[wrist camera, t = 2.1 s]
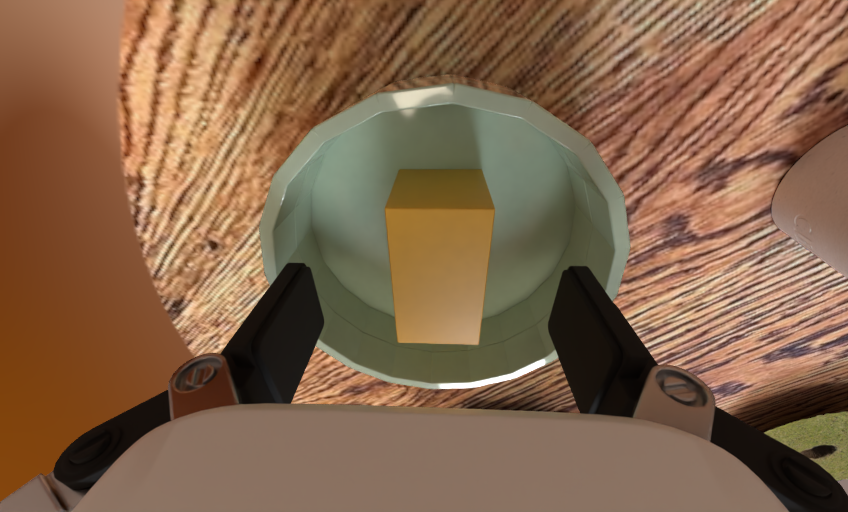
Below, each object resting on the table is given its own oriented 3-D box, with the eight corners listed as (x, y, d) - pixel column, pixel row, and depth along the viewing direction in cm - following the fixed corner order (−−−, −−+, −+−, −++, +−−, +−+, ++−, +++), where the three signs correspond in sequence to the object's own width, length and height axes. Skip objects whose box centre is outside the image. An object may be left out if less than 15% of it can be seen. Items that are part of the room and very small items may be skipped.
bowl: (370, -7, 11) (332, -37, 7) (645, 181, 14) (722, 231, 10) (276, 265, 17) (231, 324, 14) (475, 350, 20) (482, 417, 17)
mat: (678, 436, 25) (694, 463, 23) (839, 361, 19) (876, 390, 18) (763, 473, 28) (783, 499, 26) (928, 416, 22) (966, 445, 20)
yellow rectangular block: (398, 168, 13) (384, 208, 10) (482, 168, 13) (495, 208, 10) (405, 285, 17) (397, 343, 14) (471, 287, 17) (479, 345, 13)
